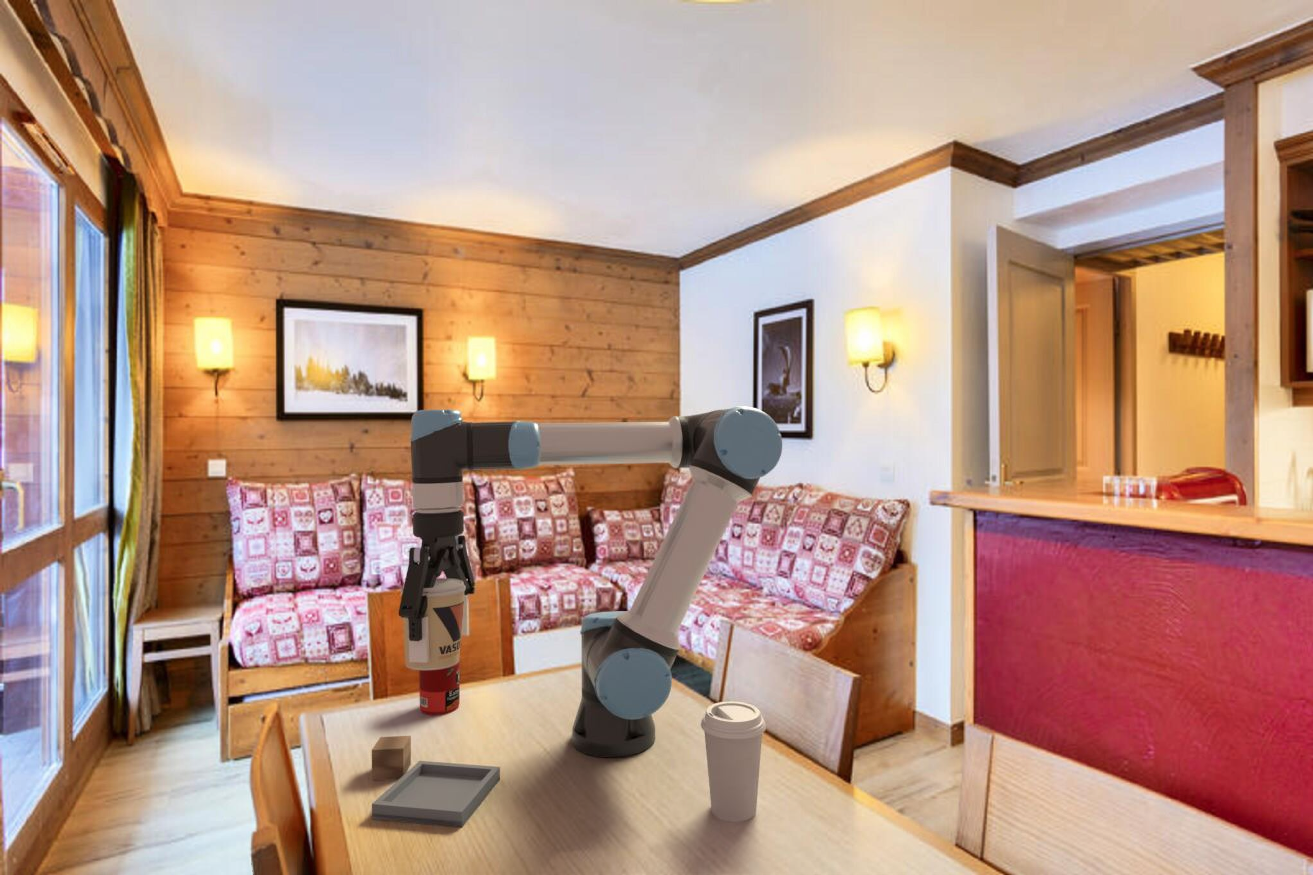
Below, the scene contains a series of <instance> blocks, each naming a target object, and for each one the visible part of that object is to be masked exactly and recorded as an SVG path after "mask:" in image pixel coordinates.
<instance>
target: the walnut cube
mask: <svg viewBox="0 0 1313 875" xmlns="http://www.w3.org/2000/svg"><path fill="white" fill-rule="evenodd" d="M411 739H412V735H397V736H396V735H395V736H380V737H379V739H378V740H377V741H376V743H375V744H374V746H373V748H372V749H371V781H380V780H381V781H382V780H383V781H384V780H399V779H400V778H401V777H402V776H403V775H404V774H406V773H407V772H408V771H409V770H410V766H411V765H412V764H411V763H412V748H411V747H412V742H411V741H412V740H411Z"/></svg>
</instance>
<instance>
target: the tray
mask: <svg viewBox="0 0 1313 875" xmlns="http://www.w3.org/2000/svg"><path fill="white" fill-rule="evenodd" d="M500 781H501V767H500V766H491V765H481V764H480V765H479V764H467V763H465V764H464V763H456V762H455V763H453V762H443V761H442V762H439V761H428V760H427V761H425V760H419V761H418V762H417V763H415V764H414V765H413V766H412V767H411V768H409V769H408V771H407V773H406V774H404V775H403V776H402V777H401V778H400V779H397V781H395V782H394V783H393V784H392V785H391V786H390V787H389V788H388V789H387V790H385V791H384V793H382V794H380V795H379V796H378V797H377V799H375V801H373V802H372V804H371V819H372V820H379V821H387V822H388V821H392V822H401V823H412V824H421V825H422V824H423V825H432V826H443V827H444V826H445V827H454V828H463V827H464V825H466V824H467V822H468V820H470V818H471V817H472V816H473V814H474V813H475V812H476V810H478V808H479V807H480V806H481V804H482V803H483V802H484V801H485V799H486V798H487V797H488V795H490V793H491V792H492V791H493V789H494V788H495V787H496V785H497V784H498V783H499V782H500Z"/></svg>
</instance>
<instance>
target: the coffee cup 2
mask: <svg viewBox="0 0 1313 875" xmlns="http://www.w3.org/2000/svg"><path fill="white" fill-rule="evenodd" d="M765 721H766V720H764V717H763V716H762V713H761V711H760V710H759V708H757V707H756V706H755V705H753V704H750V703H747V702H742V701H741V702H740V701H731V700H729V701H720V702H715V703H713V704H711V705H709V706H708V707H707V708H706V710H705V713H704V714H703V716H702V718H701V722H700V728H701V729H702V730H703V732H704V740H705V742H704V743H705V750H706V762H707V774H708V775H707V776H708V783H709V784H708V785H709V797H710V807H711V808H710V809H711V813H712V815H713V816H715V817H716V818H717V819H719V820H721V821H725V822H730V823H741V822H746V821H749V820H751V819H752V818H754V817H755V816H756V813H757V807H758V806H757V804H758V792H759V779H760V768H761V765H760V763H761V753H762V741H763V733H765V731H766V728H767V726H766V722H765Z"/></svg>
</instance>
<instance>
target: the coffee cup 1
mask: <svg viewBox="0 0 1313 875" xmlns="http://www.w3.org/2000/svg"><path fill="white" fill-rule="evenodd" d="M404 584H405V583H403V584H402V588H401V589H400V594H401V595H402V593H403V589H404ZM465 589H466V587H465V585H464V582H463V581H462V580H458V579H449V578H446V577H445V578H443V577H442V578H441V577H440V578H439V577H437V578H436V581H435V585H434V587H433V588H423V593H422V596H425V595H427V603H428V606H427V609H426V613H425V616H428V626H429V662H427V663H421V662H409V623H408V618H402V627H403V628H402V630H403V644H404V657H405V658H404V659H405V660H404V662H405V666H406V668H408V669H410V670H415V671H419V670H438V669H444V668H448V667H451V666H454V665H456V664H457V663H458V662H459V661H460V653H461V644H462V643H461V640H462V636H461V632H462V620H463V607H464V591H465ZM425 592H428V593H425Z"/></svg>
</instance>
